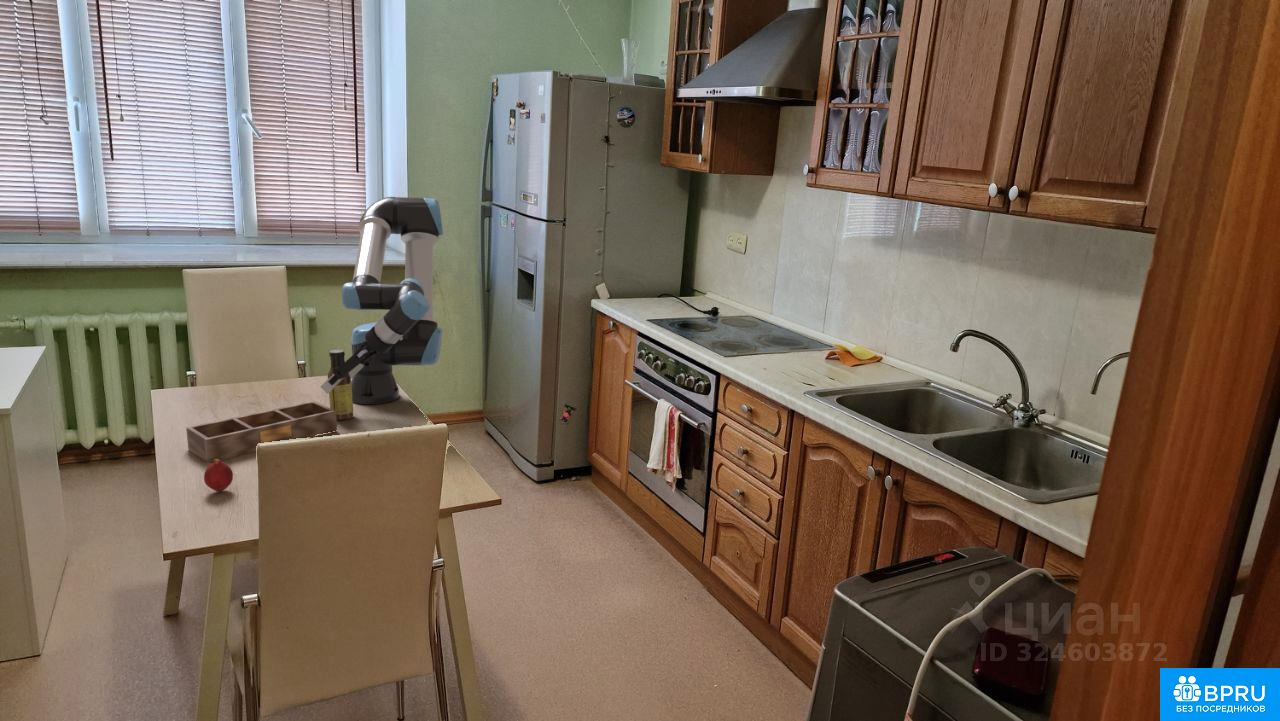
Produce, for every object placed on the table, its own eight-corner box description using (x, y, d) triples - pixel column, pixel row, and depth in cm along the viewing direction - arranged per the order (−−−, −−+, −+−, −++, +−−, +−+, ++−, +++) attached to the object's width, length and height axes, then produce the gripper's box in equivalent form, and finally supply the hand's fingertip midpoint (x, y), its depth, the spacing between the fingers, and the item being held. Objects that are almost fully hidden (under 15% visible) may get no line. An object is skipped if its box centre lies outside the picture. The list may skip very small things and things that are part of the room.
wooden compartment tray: (315, 421, 234) (314, 400, 233) (337, 432, 226) (336, 411, 225) (188, 449, 209) (186, 427, 208) (208, 463, 201) (206, 440, 200)
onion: (212, 486, 189) (209, 453, 187) (238, 486, 189) (235, 454, 187) (201, 497, 183) (197, 463, 181) (228, 497, 184) (225, 463, 181)
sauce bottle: (358, 416, 240) (355, 350, 235) (344, 422, 234) (340, 354, 229) (339, 412, 242) (336, 347, 237) (325, 419, 236) (321, 351, 231)
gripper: (375, 355, 218) (324, 405, 223) (410, 335, 242) (363, 380, 248) (355, 334, 217) (304, 385, 223) (392, 316, 242) (345, 362, 247)
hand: (335, 383), depth 235 cm, fingers open, 13 cm apart
